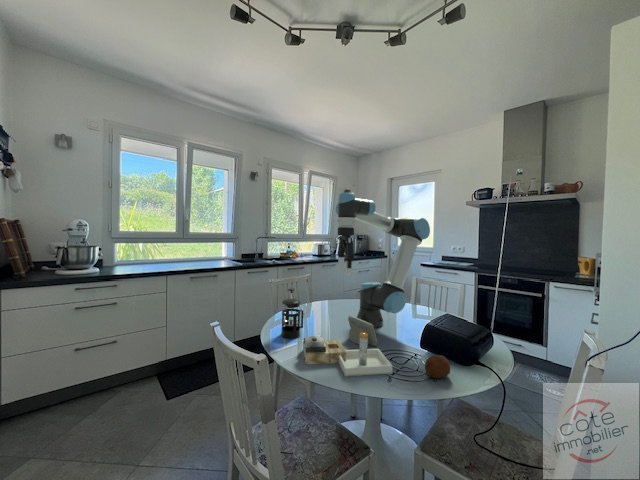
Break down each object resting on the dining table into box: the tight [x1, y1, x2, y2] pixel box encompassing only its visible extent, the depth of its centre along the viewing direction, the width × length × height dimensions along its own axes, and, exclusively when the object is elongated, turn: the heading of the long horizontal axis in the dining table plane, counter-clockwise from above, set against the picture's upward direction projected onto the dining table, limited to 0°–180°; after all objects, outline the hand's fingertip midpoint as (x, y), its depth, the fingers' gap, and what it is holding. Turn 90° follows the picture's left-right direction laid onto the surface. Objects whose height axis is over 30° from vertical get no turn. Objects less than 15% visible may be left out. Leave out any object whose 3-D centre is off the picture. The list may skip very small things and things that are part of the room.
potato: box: [424, 354, 451, 379], centre depth 97 cm, size 8×11×8 cm
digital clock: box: [347, 315, 378, 347], centre depth 125 cm, size 16×9×11 cm, turn 24°
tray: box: [338, 348, 394, 378], centre depth 103 cm, size 18×14×3 cm
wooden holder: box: [302, 335, 346, 365], centre depth 109 cm, size 16×12×8 cm
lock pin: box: [358, 332, 368, 366], centre depth 103 cm, size 3×3×12 cm
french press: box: [280, 288, 304, 340], centre depth 130 cm, size 12×9×23 cm
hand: (344, 273), depth 122 cm, fingers open, 13 cm apart
